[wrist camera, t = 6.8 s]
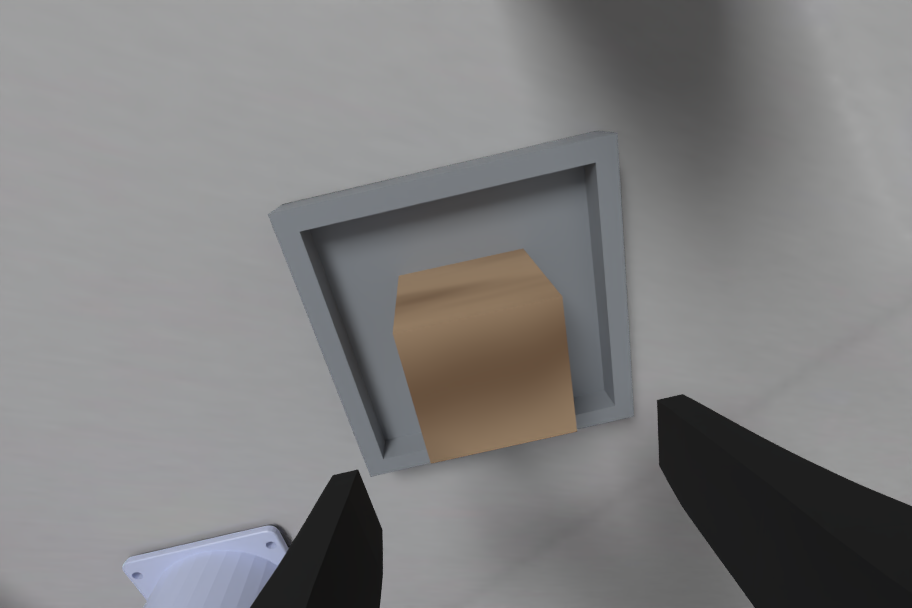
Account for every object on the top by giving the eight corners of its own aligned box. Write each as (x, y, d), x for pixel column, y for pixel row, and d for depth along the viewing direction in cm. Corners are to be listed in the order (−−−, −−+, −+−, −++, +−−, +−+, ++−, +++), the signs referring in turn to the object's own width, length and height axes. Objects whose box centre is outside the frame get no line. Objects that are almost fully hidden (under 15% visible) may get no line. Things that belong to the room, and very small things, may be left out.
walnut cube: (538, 356, 19) (577, 431, 15) (427, 380, 19) (430, 463, 15) (523, 248, 17) (562, 296, 13) (398, 275, 17) (392, 333, 13)
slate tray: (616, 392, 21) (634, 416, 19) (374, 448, 21) (370, 476, 19) (596, 130, 16) (617, 132, 15) (282, 204, 16) (267, 214, 15)
